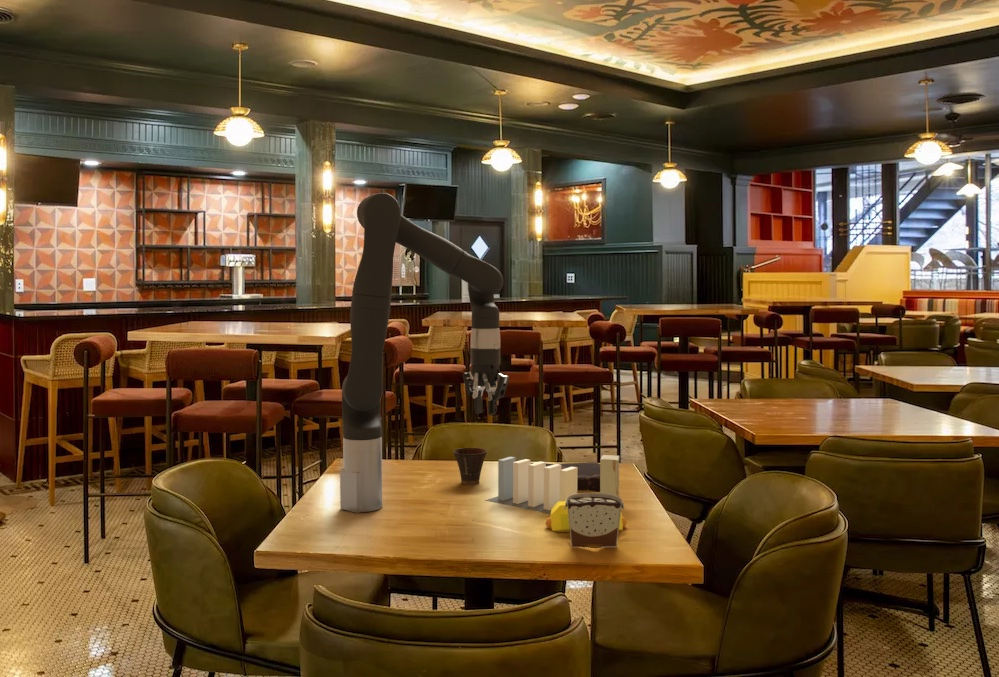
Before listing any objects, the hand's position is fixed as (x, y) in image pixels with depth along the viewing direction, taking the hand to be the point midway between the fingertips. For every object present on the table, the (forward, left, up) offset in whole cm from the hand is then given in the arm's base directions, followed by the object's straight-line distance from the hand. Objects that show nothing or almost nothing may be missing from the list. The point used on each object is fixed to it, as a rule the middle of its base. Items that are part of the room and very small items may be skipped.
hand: (485, 413), depth 214 cm
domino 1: (0, -7, -21) cm, 22 cm away
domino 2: (0, -12, -21) cm, 24 cm away
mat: (0, -17, -21) cm, 27 cm away
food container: (-16, -42, -21) cm, 50 cm away
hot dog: (-9, -36, -22) cm, 43 cm away
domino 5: (0, -25, -21) cm, 33 cm away
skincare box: (+11, -30, -21) cm, 38 cm away
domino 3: (0, -16, -21) cm, 26 cm away
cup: (+7, +11, -21) cm, 25 cm away
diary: (+22, -8, -22) cm, 32 cm away
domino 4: (0, -21, -21) cm, 29 cm away
